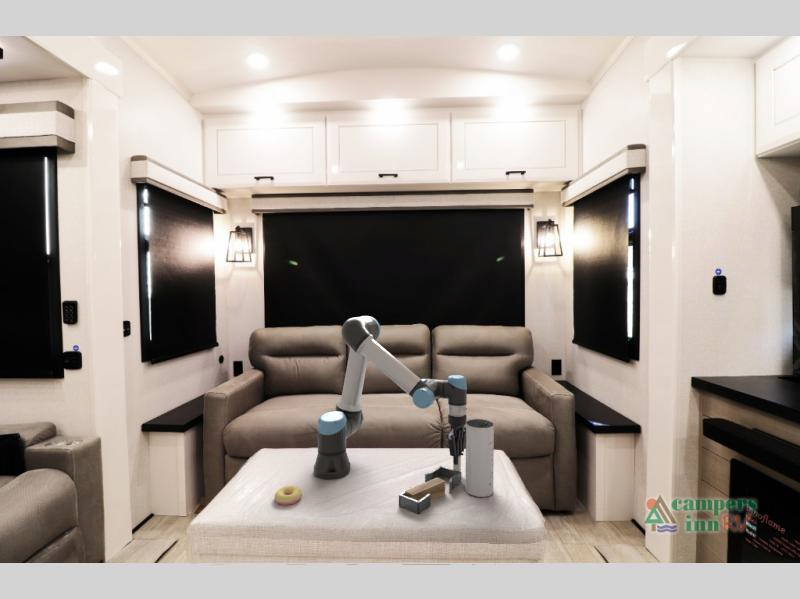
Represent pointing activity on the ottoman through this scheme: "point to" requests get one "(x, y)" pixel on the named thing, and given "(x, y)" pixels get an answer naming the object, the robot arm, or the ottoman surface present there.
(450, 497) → the ottoman surface
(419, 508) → the cap
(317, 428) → the robot arm
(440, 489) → the slat
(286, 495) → the donut
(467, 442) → the speaker
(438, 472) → the cap
